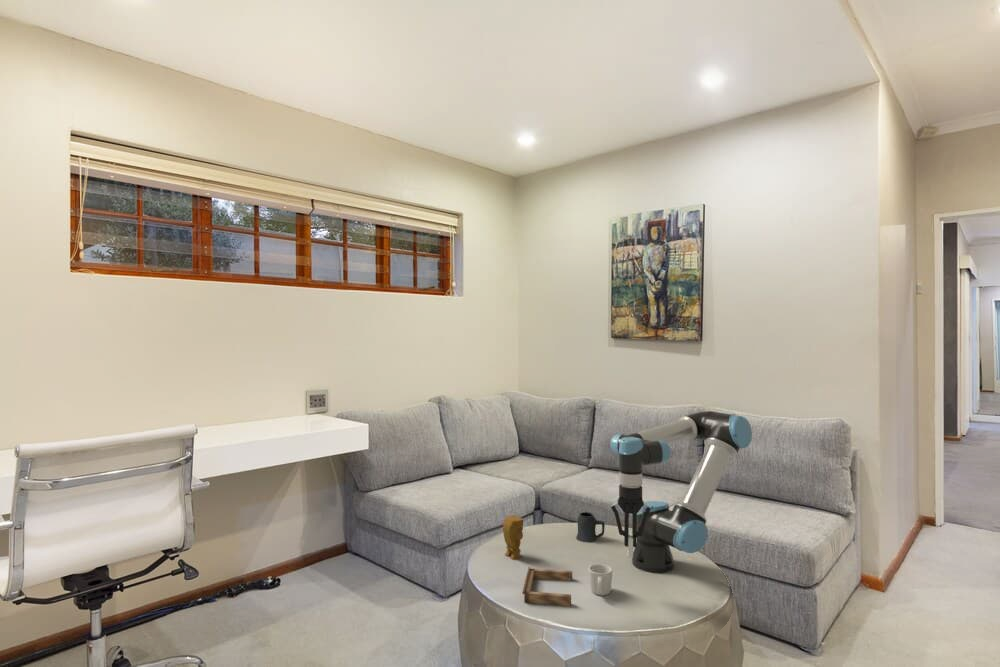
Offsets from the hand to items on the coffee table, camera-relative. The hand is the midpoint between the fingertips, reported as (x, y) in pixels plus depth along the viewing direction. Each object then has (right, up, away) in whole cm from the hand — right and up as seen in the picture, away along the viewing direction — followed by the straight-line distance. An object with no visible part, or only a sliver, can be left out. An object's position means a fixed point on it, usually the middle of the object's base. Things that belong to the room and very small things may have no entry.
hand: (630, 556), depth 181 cm
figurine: (-38, -14, +32) cm, 52 cm away
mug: (-5, -14, +49) cm, 51 cm away
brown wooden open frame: (-26, -13, +4) cm, 30 cm away
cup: (-10, -14, +2) cm, 17 cm away
